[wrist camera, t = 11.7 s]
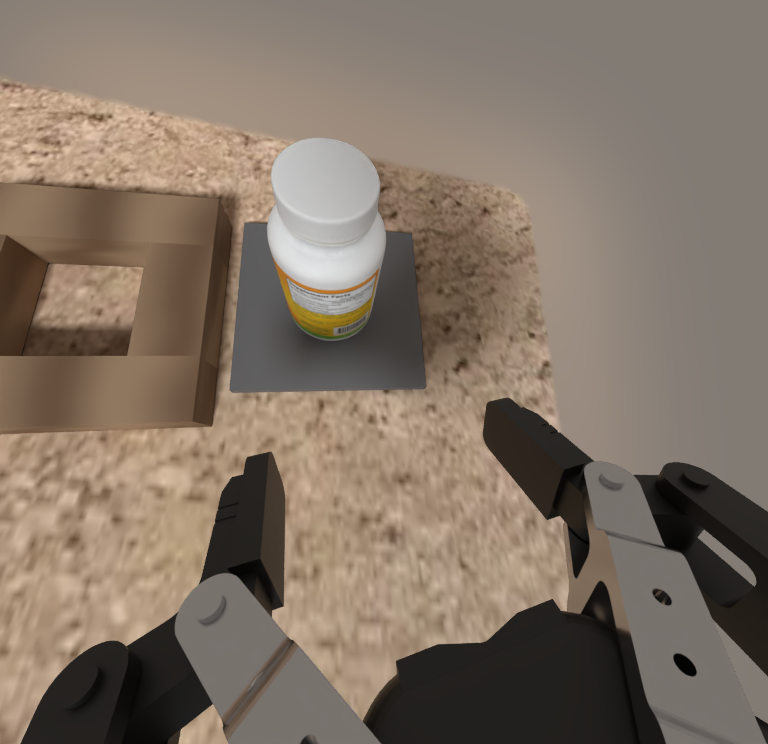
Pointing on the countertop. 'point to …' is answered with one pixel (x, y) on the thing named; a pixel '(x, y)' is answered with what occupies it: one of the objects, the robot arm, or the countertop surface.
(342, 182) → the supplement bottle
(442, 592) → the countertop surface
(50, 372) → the walnut socket
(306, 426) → the countertop surface
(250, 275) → the rubber mat
